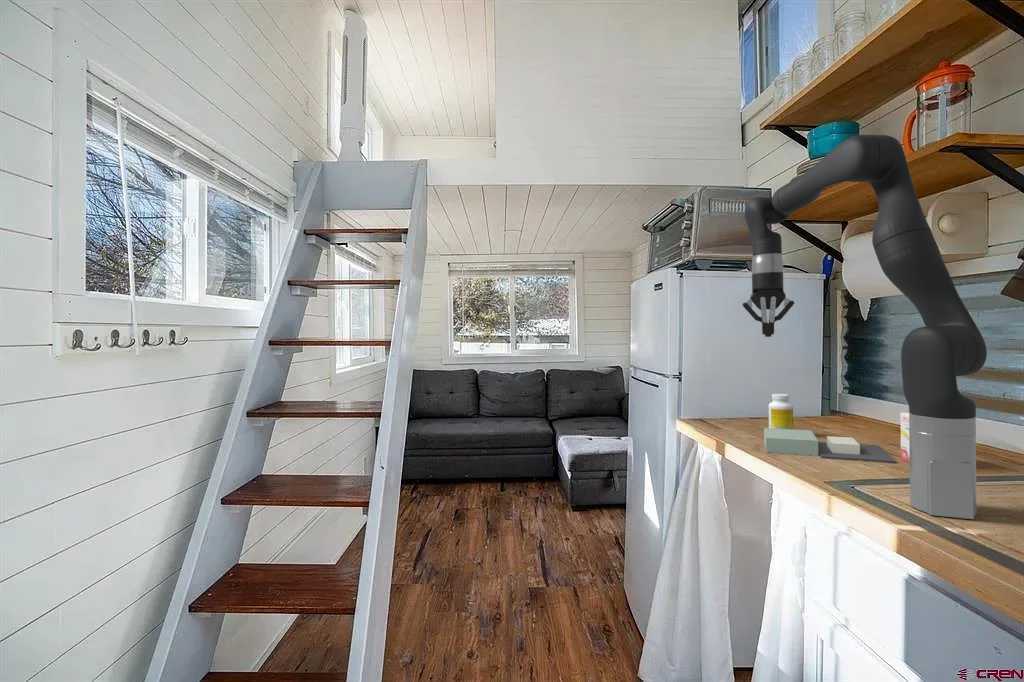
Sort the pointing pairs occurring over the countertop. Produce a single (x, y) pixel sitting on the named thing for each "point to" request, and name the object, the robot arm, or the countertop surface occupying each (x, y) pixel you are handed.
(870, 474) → the countertop surface
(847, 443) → the tile
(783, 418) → the supplement bottle
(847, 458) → the mat
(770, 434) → the block
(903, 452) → the ink cartridge box
